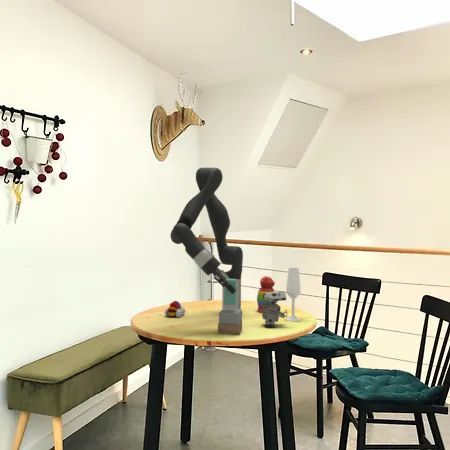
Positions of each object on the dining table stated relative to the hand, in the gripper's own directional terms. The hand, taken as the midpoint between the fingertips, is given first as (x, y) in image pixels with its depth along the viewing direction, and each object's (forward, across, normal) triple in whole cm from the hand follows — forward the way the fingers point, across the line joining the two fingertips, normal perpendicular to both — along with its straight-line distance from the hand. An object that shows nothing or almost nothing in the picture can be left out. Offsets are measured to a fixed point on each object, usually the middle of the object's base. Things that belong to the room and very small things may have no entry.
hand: (234, 291), depth 198 cm
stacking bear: (+20, +44, +4) cm, 49 cm away
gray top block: (+8, 0, +10) cm, 13 cm away
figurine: (+24, +14, +1) cm, 27 cm away
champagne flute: (+29, +28, -5) cm, 41 cm away
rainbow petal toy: (-10, +26, +35) cm, 45 cm away
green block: (+2, 0, +5) cm, 6 cm away
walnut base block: (+11, 0, +14) cm, 17 cm away
